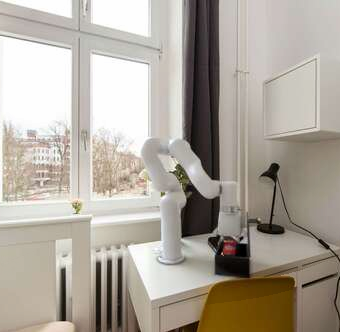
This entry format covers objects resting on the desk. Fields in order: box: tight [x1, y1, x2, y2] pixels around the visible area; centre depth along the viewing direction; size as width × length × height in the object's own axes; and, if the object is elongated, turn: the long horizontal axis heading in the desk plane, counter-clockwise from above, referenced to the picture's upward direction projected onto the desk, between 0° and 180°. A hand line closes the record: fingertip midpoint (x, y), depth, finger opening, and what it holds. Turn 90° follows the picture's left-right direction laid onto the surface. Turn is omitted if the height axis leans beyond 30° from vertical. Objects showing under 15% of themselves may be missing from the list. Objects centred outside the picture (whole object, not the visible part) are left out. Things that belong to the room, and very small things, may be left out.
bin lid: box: [245, 211, 262, 258], centre depth 93 cm, size 14×18×6 cm
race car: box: [223, 239, 237, 256], centre depth 96 cm, size 13×5×4 cm, turn 162°
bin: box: [214, 240, 251, 279], centre depth 95 cm, size 14×18×8 cm
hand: (229, 250), depth 96 cm, fingers closed on race car, 5 cm apart
